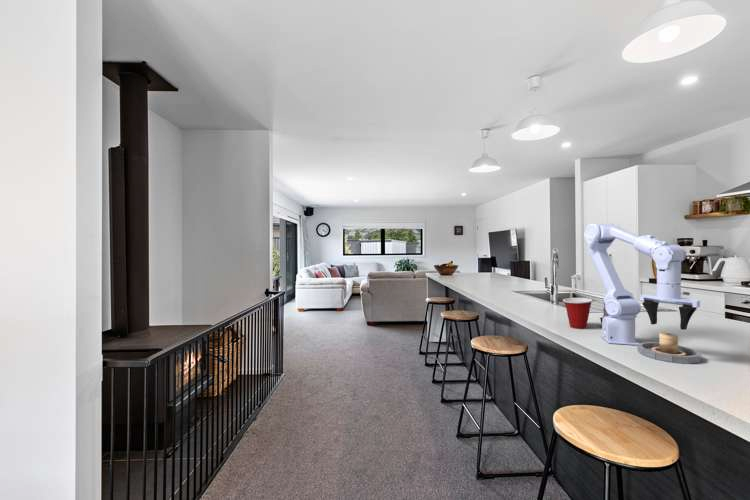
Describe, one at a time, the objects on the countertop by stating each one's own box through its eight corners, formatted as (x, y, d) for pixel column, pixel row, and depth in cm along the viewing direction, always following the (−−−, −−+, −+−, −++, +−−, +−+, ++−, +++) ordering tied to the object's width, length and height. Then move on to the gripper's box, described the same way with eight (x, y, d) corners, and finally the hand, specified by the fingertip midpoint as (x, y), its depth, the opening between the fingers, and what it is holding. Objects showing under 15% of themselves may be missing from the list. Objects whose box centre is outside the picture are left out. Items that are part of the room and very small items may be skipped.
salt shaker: (619, 329, 139) (619, 300, 138) (603, 329, 140) (603, 300, 140) (612, 326, 144) (612, 298, 144) (597, 325, 146) (597, 297, 145)
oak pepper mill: (663, 355, 106) (663, 335, 105) (656, 350, 110) (656, 332, 110) (680, 356, 104) (681, 336, 104) (673, 351, 108) (673, 333, 108)
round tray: (650, 360, 102) (650, 354, 102) (630, 346, 116) (630, 340, 116) (713, 366, 98) (713, 359, 98) (684, 350, 112) (684, 344, 112)
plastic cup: (558, 324, 149) (558, 296, 149) (584, 324, 148) (585, 297, 147) (569, 330, 138) (569, 301, 138) (597, 330, 137) (597, 301, 137)
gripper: (704, 285, 102) (704, 330, 102) (648, 280, 115) (648, 320, 115) (693, 286, 99) (693, 333, 99) (637, 281, 112) (636, 322, 112)
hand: (668, 326), depth 107 cm, fingers open, 7 cm apart
